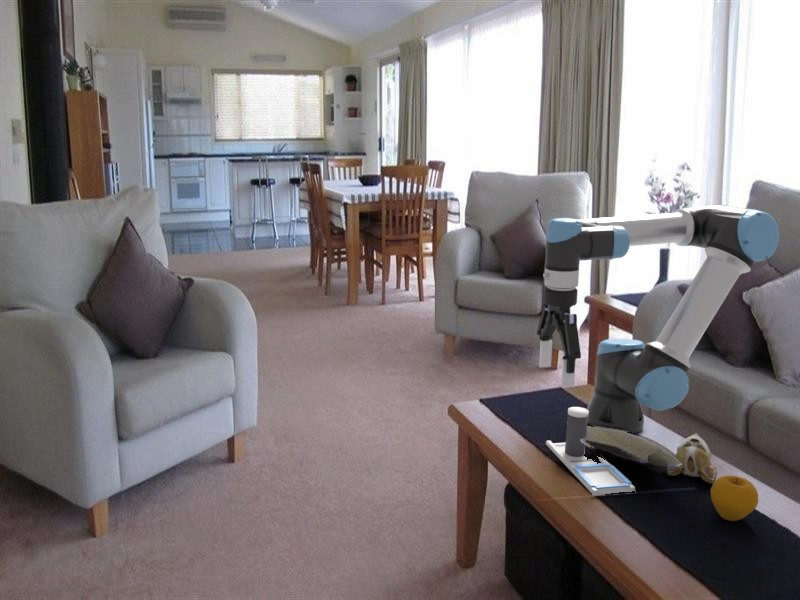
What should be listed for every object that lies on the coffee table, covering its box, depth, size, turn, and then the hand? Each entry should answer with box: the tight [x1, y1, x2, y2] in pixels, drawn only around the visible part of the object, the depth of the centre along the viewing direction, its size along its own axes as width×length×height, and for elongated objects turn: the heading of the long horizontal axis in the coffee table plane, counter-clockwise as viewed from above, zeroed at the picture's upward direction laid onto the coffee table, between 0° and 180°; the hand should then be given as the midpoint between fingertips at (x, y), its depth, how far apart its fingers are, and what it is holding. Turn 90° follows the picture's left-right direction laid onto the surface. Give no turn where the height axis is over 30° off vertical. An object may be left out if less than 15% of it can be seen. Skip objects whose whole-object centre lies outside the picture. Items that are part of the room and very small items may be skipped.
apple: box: [710, 475, 759, 522], centre depth 149 cm, size 9×9×9 cm
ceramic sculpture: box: [666, 432, 718, 484], centre depth 169 cm, size 11×9×15 cm
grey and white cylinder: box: [565, 406, 589, 457], centre depth 176 cm, size 5×5×11 cm
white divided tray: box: [545, 440, 636, 497], centre depth 171 cm, size 10×26×2 cm, turn 12°
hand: (555, 375), depth 173 cm, fingers open, 13 cm apart
